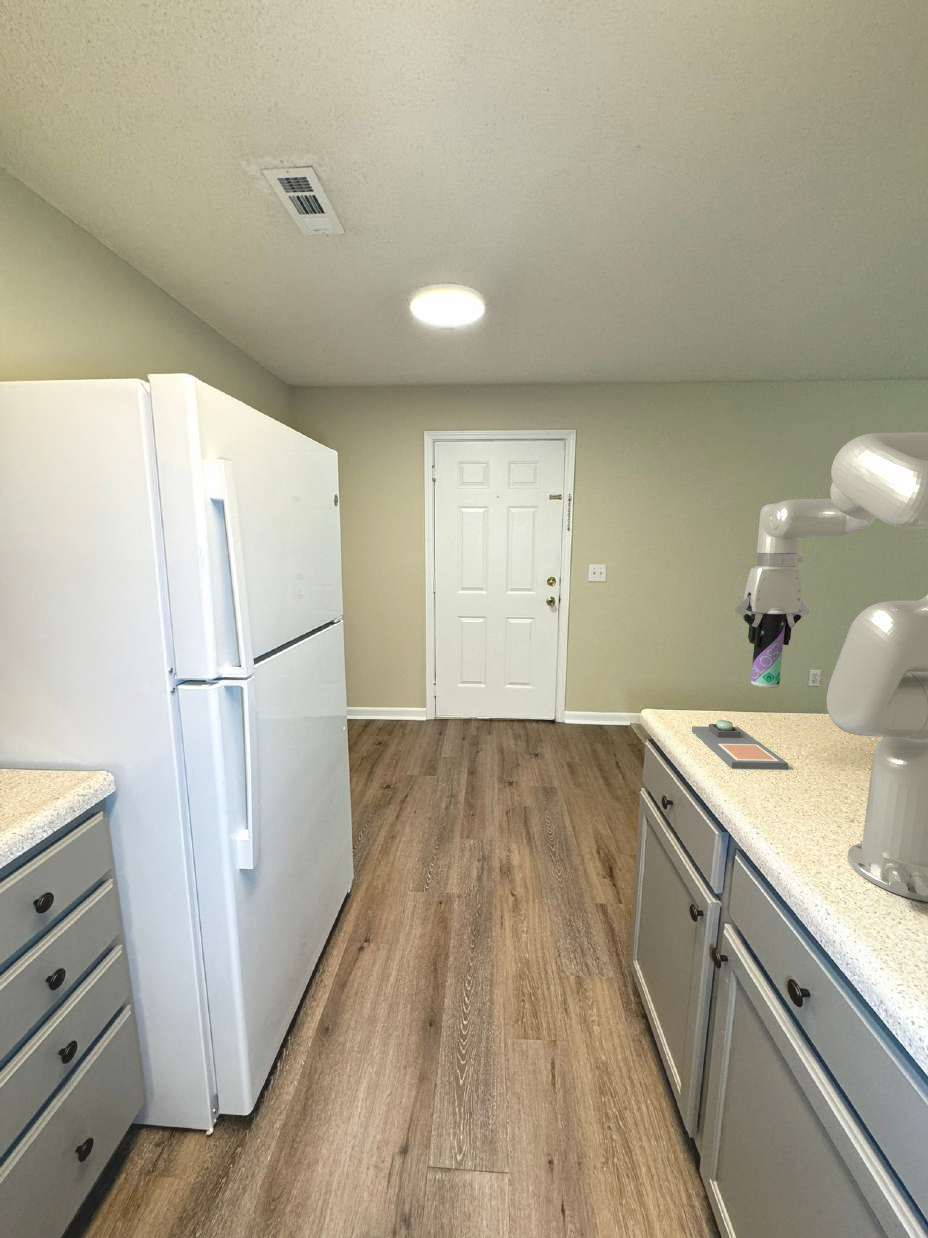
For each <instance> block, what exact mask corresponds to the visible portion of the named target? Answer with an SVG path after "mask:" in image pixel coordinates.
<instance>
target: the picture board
mask: <svg viewBox="0 0 928 1238" xmlns="http://www.w3.org/2000/svg"><path fill="white" fill-rule="evenodd" d="M716 727H717V723H709V724H708V726H700V725H699V726H698V725H697V726H696V725H695V726H694V725H693V726H691V733H692V734H694V735H695V734H696V735H695V736H696V737H697V738H698V737H699V738H698V739H699V740H700V739H701V740H702V741H703V742H704V745H706V746H707V748H709V749H710V751H712V752H713V753H714V752H715V753H714V754H715V755H717V757H719V758H720V759H721V760H722V761H723V762H724V763H725V764H726V765H727V766H728V767H729V768H731V769H734V770H735V769H737V770H738V769H739V770H740V769H741V770H743V769H747V770H749V769H750V770H788V763H789V762H787V761H786V760H784V759H783V758H782V757H780V756H779V755H777V754H776V753H774V752H773V751H772V750H771V749H770V748H768V747H767V746H765V745H764V744H762V743H761V742H759V741H758V740H757V739H755V737H753V736H751V735H750V734H749V733H747V732H746V731H744V730H743V729H741V728H740V727H739V726H733V727H732V731H722V730H719V729H717V728H716ZM701 740H700V741H701ZM702 741H701V742H702ZM703 742H702V743H703Z"/></svg>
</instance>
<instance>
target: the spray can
mask: <svg viewBox="0 0 928 1238" xmlns="http://www.w3.org/2000/svg"><path fill="white" fill-rule="evenodd" d="M770 610H771V611H769V612H768V613H766V614H763V616H762V618H761V621H760V623H759V626H758V627H760V628H761V633H760V644H759V645H754V644H753V654H752V655H753V656H752V665H751V676H750V677H751V678H750V684H752V686H756V687H759V688H767V689H775V688H777V689H778V688H779V687H780V682H781V672H782V659H783V650H784V645H783V642H784V632H785V622H786V612H785V611H784V610H785V608H771V609H770Z"/></svg>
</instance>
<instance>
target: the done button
mask: <svg viewBox="0 0 928 1238" xmlns="http://www.w3.org/2000/svg"><path fill="white" fill-rule="evenodd" d="M716 724H717V727H716V728H717V729H719V730H722V731H732V727H734V726H733V725H734V724H733V722H731V721H730V720H724V719H718V720H717V721H716Z"/></svg>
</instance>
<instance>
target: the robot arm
mask: <svg viewBox="0 0 928 1238" xmlns="http://www.w3.org/2000/svg"><path fill="white" fill-rule="evenodd" d="M830 470H831V471H830V475H831V480H832V482H831V485H830V491H829V492H830V493H829V494H830V497H831V498H805V499H804V498H803V499H797V498H796V499H786V500H782V501H780V502H777V503H776V502H775V503H774V502H773V503H767V504H765V505H764V506H762V508H761V509H760V513H759V524H758V535H757V536H758V537H757V545H756V547H757V548H756V557H755V558H756V559H755V567H751V568H750V571H749V574H748V577H747V582H746V585H745V590H744V594H743V595H744V597H743V601H742V602H740V603H739V605H738V606H736V608H735V609H734V612H735V613H737V615H739V617H741V618H742V619H743V621H744V622H745V623H746V625H748V633H747V634H748V635H747V639H748V641H749V642H748V643H750V644H752V645H753V646H754V645H759V644H760V633H761V628H760V627H758V626H759V623H760V621H761V618H762V616H763V614H766V613H768V612H769V611H771V610H770V609H771V608H785V610H784V611H785V612H786V622H785V632H784V642H783V646H789V645H790V641H791V637H792V628H794V627H795V625H796V624H797V623H798V622H799V621H800V620H801V619H802V618H803V617H805V616H806V615H807V614H808V613H809V612H810V609H809V608H808V607H807V606H806V605H805V603H804V602H803V600H802V579H801V578H802V577H801V571H800V568H797V566H798V564H800V563H803V561H804V556H799V555H800V554H799V546H800V539H812V538H815V539H818V538H820V539H821V538H826V539H827V538H830V539H831V538H832V539H833V538H840V537H844V536H847V535H850V534H853V533H855V532H856V533H857V532H858V531H861V530H863V529H867V528H868V527H870V526H871V525H872V524H873V523H874V522H875V520H876V519H878V520H880V521H882V522H884V523H885V524H888V525H890V526H893V527H896V528H902V529H910V530H911V529H912V530H920V529H921V530H923V529H926V530H927V529H928V432H920V431H918V432H875V433H867V434H862V435H860V436H857V437H854V438H853V439H851V440H850V441H848V442H847V443H845V444H844V445H843V446H842V447H841V448H840V449H839V450H838V452H837V453H836V455H835V457H834V459H833V462H832V465H831V469H830ZM748 612H750V614H748ZM839 653H840V654H839V656H838V658H837V661H836V664H835V667H834V669H833V673H832V675H831V678H830V681H829V684H828V688H827V692H826V709H827V713H828V715H829V718H830V720H831V721H832V723H833V724H835V726H836V727H838V728H839V729H840V730H842V731H843V732H845V733H847V734H851V735H854V736H860V737H874V738H875V737H877V738H878V737H880V738H881V737H882V738H881V740H880V741H879V742H878V744H877V746H876V748H875V750H874V752H873V757H872V761H871V762H872V763H871V771H870V779H869V785H868V794H867V802H866V809H865V810H866V811H865V819H864V826H863V835H862V842H860V843H857V844H853V845H851V846H850V847H849V849H848V851H847V861H848V863H849V865H850V866H851V867H852V868H853V870H854V871H856V873H858V874H859V875H861V876H862V877H863V878H864V879H866V880H868V882H870V883H873V884H874V885H875V886H878V887H879V888H881V889H884V890H887V892H888V891H889V892H891V893H894V894H896V895H899V896H902V897H905V898H908V899H912V900H916V901H921V902H926V903H928V593H927V594H926V595H925V596H924V597H923V598H921V599H919V600H918V599H917V600H889V601H881V602H877V603H875V604H873V605H870V606H868V607H866V608H865V609H863V610H862V611H861V612H860V613H859V614H857V616H856V617H855V619H854V620H853V621H852V623H851V625H850V626H849V629H848V632H847V635H846V637H845V640H844V641H843V645H842V648H841V651H840V652H839Z"/></svg>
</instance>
